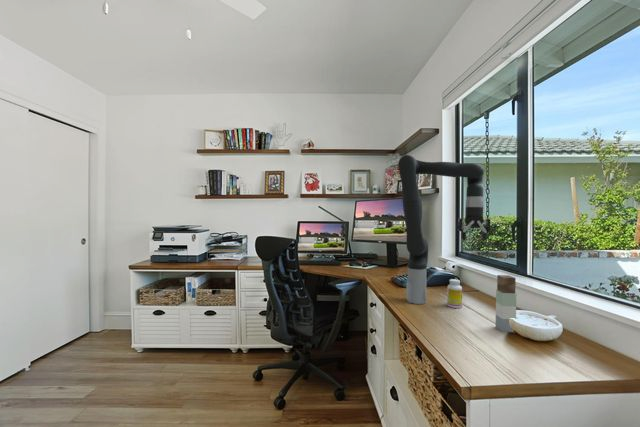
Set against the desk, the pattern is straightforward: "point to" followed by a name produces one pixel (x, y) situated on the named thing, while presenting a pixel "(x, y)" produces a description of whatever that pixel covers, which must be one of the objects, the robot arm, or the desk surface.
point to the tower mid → (505, 311)
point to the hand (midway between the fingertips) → (473, 240)
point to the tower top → (506, 298)
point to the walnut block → (506, 283)
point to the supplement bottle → (454, 294)
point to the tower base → (503, 324)
